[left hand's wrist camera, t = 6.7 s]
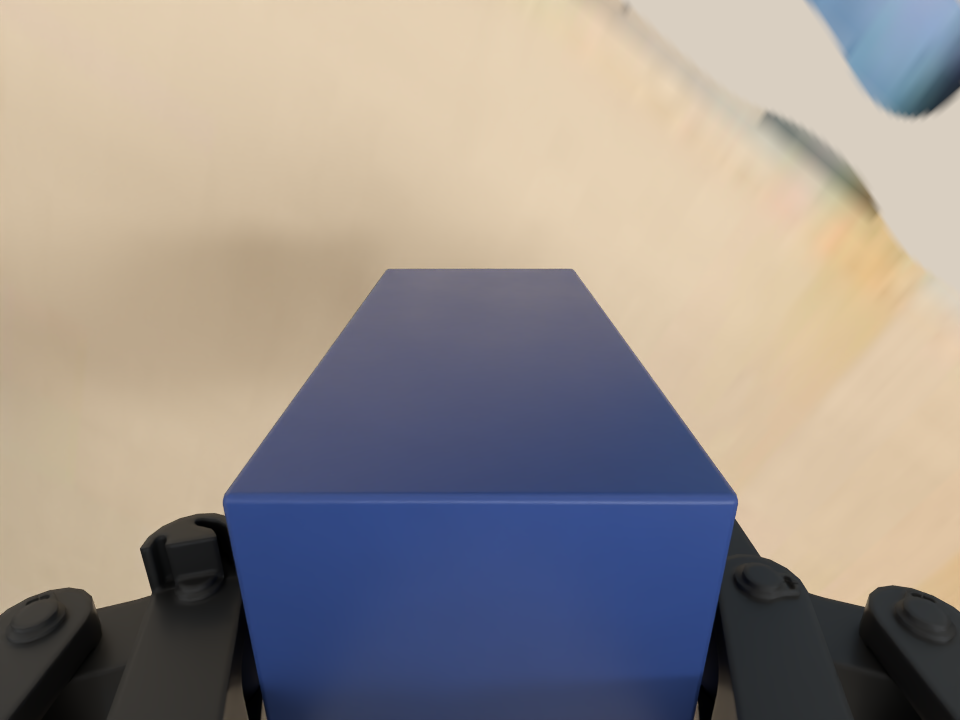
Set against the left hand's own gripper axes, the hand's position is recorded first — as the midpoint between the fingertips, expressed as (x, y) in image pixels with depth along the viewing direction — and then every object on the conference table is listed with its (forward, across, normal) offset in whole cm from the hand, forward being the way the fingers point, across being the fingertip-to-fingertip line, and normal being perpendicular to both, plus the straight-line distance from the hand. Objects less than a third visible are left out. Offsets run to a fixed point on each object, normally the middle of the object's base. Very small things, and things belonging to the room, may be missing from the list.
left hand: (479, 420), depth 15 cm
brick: (+2, 0, 0) cm, 2 cm away
